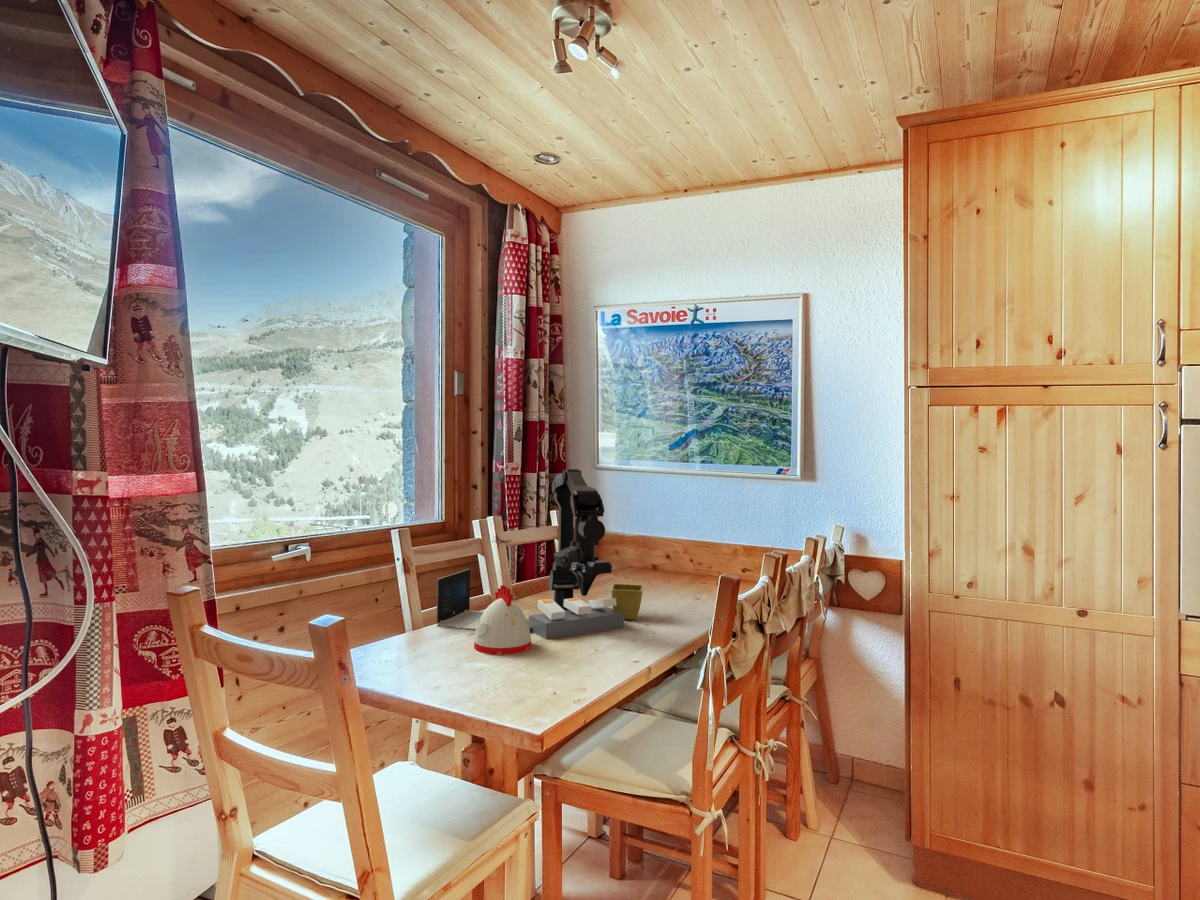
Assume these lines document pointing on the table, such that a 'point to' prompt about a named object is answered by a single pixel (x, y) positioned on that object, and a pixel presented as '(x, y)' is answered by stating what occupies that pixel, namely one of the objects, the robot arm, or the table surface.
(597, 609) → the power strip
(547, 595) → the table surface
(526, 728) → the table surface
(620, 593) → the flower pot
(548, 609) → the rocker
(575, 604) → the block
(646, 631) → the table surface
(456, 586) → the laptop
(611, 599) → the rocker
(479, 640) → the kitchen timer
